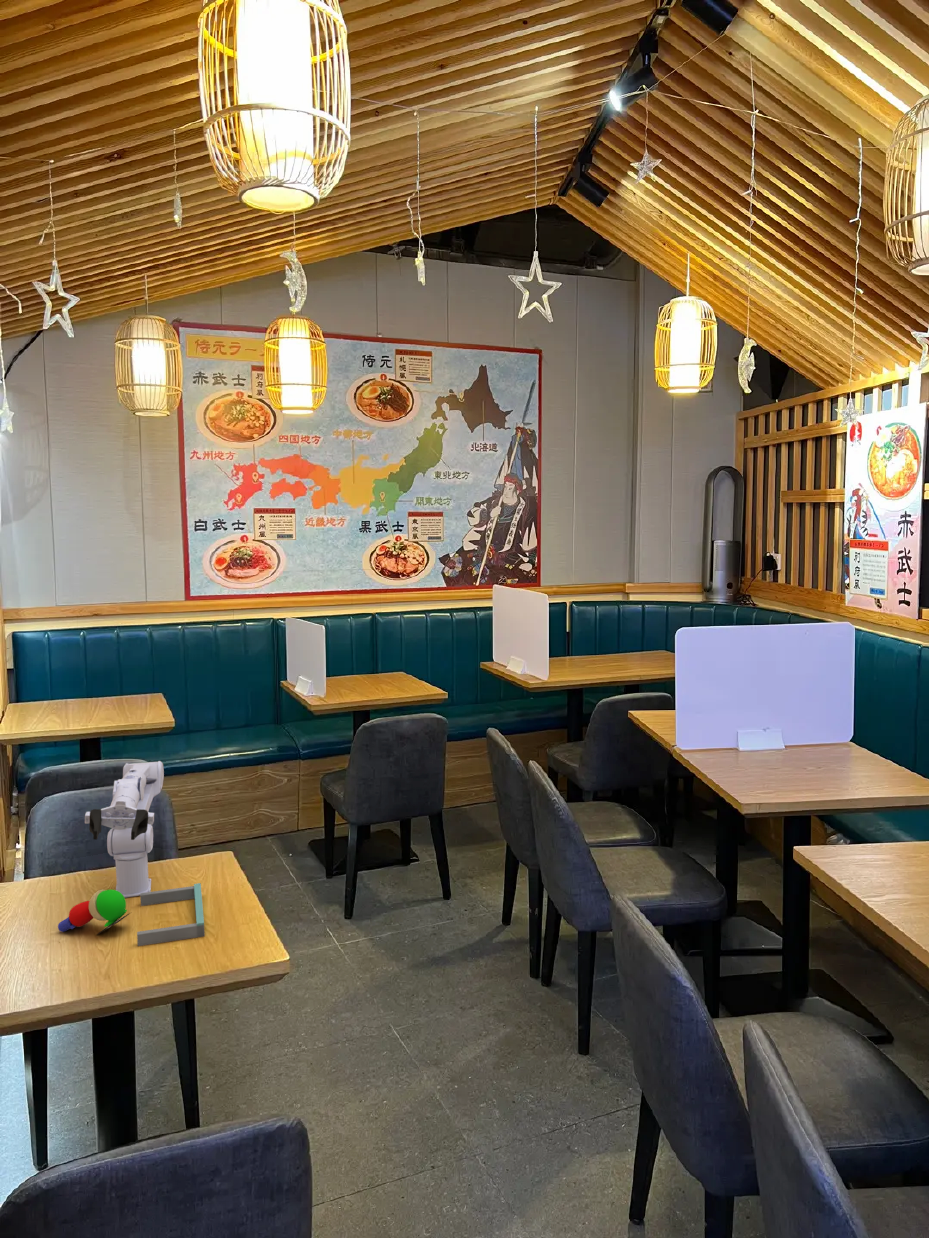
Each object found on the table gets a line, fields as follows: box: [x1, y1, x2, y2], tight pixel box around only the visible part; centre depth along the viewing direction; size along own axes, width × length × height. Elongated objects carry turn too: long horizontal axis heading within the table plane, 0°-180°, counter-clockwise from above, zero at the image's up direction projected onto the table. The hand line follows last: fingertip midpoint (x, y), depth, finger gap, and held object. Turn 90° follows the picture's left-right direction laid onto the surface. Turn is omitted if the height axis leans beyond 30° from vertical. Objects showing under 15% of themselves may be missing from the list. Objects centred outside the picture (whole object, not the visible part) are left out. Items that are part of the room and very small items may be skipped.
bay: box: [136, 882, 206, 947], centre depth 202 cm, size 23×14×3 cm, turn 18°
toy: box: [57, 889, 131, 935], centre depth 197 cm, size 8×8×15 cm
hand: (114, 835), depth 196 cm, fingers open, 7 cm apart
